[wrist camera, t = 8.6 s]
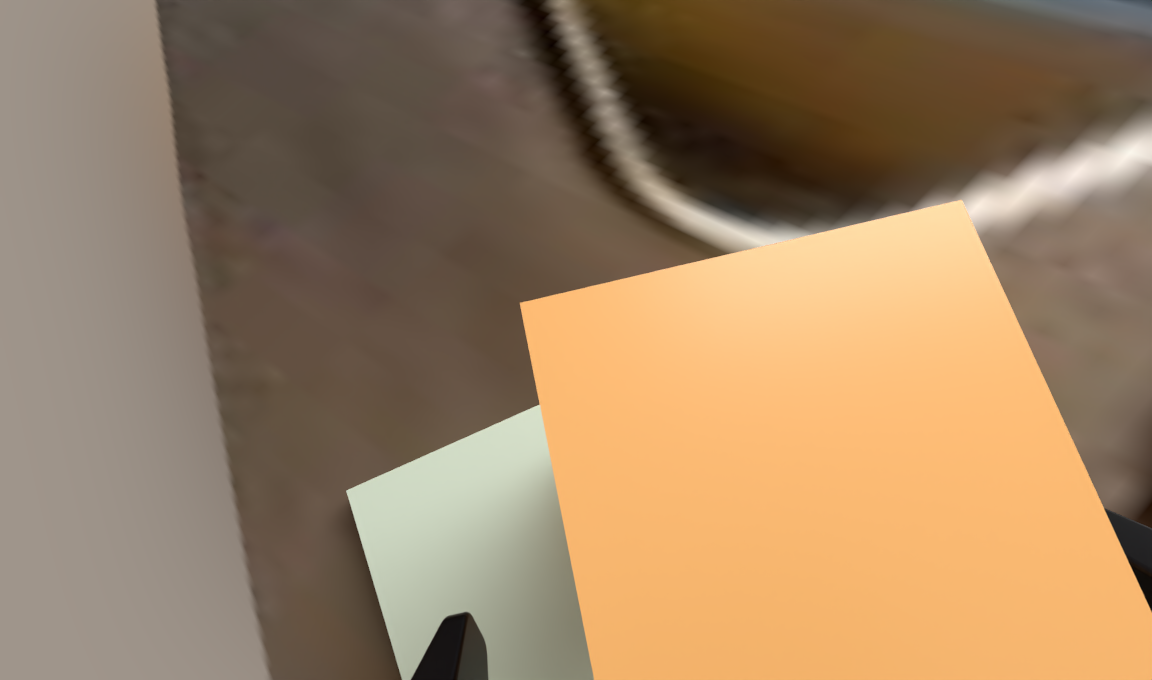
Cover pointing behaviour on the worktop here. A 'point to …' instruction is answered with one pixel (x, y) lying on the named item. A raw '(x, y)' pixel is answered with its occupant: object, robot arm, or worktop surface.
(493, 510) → the board
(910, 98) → the worktop surface
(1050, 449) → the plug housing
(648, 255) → the worktop surface
